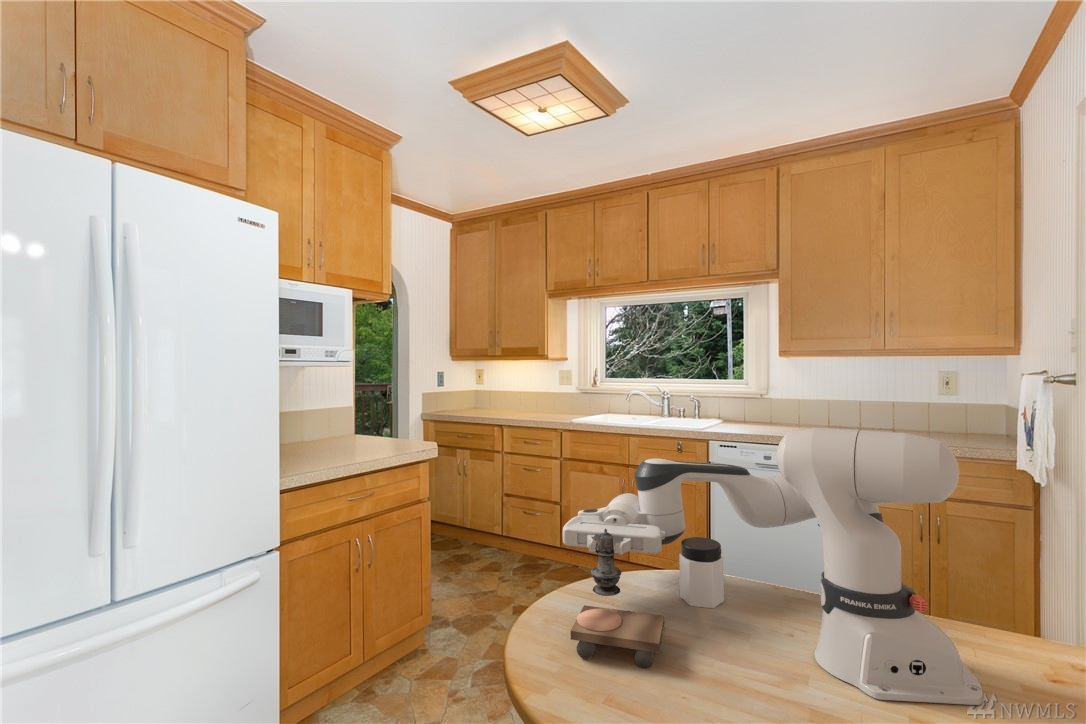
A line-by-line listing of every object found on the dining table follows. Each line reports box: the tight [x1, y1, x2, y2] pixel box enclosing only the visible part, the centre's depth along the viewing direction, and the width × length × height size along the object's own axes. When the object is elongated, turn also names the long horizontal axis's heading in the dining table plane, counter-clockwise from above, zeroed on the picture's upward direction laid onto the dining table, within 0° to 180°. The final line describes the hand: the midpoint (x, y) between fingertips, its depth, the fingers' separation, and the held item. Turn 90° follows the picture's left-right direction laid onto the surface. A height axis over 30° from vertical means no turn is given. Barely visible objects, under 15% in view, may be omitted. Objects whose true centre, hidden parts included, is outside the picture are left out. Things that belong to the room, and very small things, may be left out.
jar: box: [678, 536, 725, 609], centre depth 113 cm, size 9×8×12 cm
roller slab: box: [570, 604, 665, 670], centre depth 95 cm, size 15×10×5 cm, turn 72°
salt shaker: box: [590, 528, 623, 597], centre depth 103 cm, size 6×6×12 cm
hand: (604, 549), depth 102 cm, fingers closed on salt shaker, 4 cm apart
